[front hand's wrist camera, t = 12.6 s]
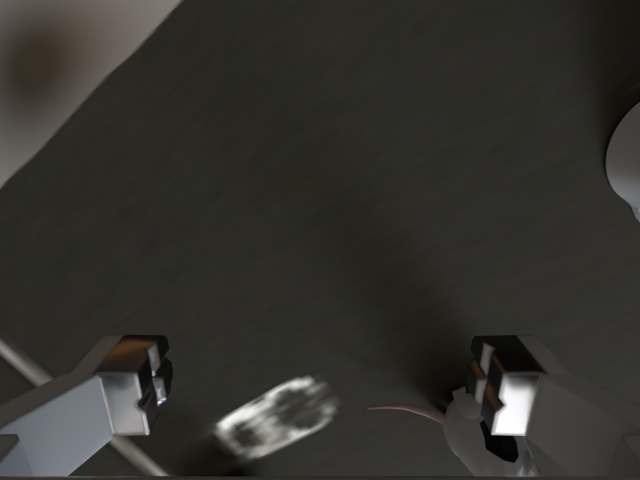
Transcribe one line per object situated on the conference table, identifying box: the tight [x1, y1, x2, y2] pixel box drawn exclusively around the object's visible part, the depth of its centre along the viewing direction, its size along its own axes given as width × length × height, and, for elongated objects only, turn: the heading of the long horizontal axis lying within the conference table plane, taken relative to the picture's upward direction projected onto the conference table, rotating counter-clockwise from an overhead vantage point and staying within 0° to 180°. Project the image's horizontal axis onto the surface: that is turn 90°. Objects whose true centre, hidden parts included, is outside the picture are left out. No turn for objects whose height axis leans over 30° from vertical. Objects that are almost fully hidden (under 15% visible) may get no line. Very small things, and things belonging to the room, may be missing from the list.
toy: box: [368, 387, 541, 476], centre depth 54 cm, size 9×24×15 cm, turn 79°
